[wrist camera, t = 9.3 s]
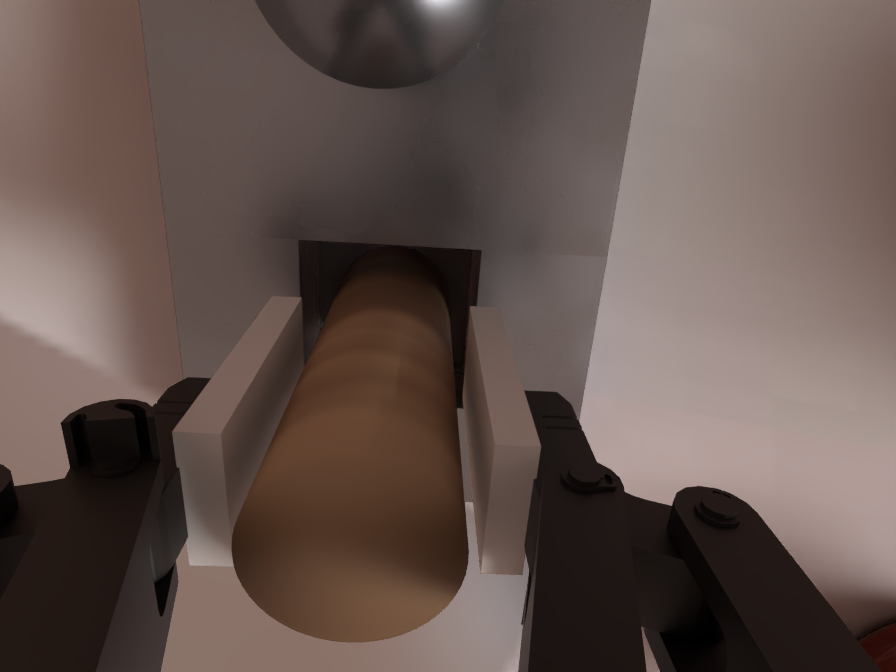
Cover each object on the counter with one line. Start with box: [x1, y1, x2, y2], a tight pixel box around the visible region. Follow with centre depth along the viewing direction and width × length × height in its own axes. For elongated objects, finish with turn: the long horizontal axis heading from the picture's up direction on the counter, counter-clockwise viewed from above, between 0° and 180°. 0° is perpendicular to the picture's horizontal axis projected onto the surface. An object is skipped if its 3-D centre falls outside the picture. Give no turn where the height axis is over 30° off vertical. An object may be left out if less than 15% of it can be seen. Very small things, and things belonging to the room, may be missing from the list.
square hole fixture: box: [139, 0, 651, 502], centre depth 15 cm, size 16×12×9 cm
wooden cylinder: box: [231, 246, 469, 642], centre depth 15 cm, size 4×4×12 cm
